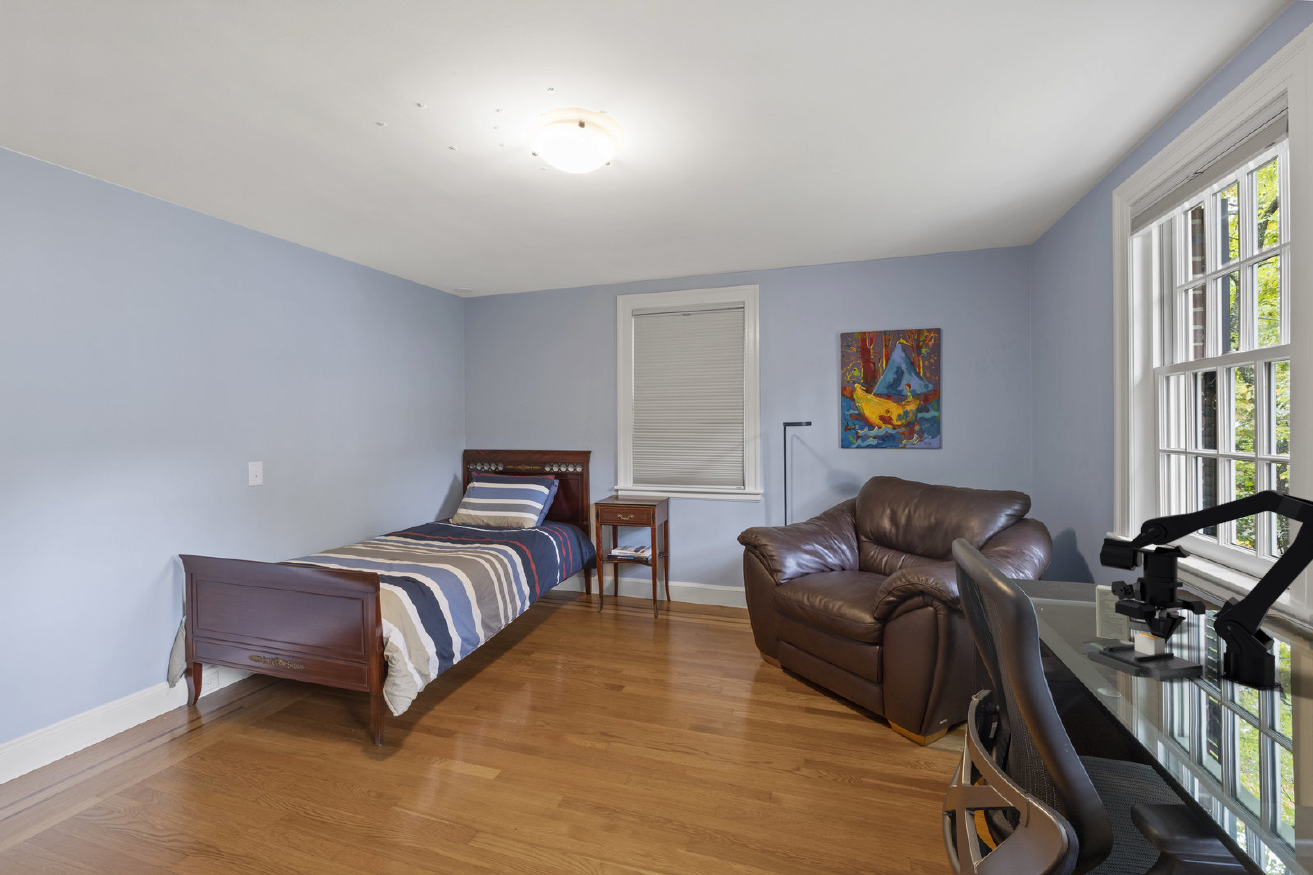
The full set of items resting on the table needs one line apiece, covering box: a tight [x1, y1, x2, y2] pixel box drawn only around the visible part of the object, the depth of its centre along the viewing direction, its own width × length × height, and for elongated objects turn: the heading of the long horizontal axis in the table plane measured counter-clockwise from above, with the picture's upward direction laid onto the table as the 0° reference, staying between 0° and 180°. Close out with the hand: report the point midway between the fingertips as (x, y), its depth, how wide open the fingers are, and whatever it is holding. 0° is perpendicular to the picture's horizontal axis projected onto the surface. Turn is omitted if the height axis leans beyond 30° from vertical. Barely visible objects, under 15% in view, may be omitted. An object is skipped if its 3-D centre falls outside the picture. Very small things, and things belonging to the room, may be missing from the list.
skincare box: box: [1095, 584, 1131, 641], centre depth 143 cm, size 6×4×12 cm
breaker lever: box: [1134, 632, 1166, 655], centre depth 127 cm, size 4×3×4 cm
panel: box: [1081, 639, 1204, 682], centre depth 127 cm, size 16×12×3 cm
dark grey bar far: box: [1082, 638, 1120, 644], centre depth 136 cm, size 1×10×1 cm, turn 105°
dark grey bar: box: [1086, 651, 1141, 677], centre depth 125 cm, size 10×1×1 cm, turn 15°
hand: (1159, 646), depth 128 cm, fingers closed
